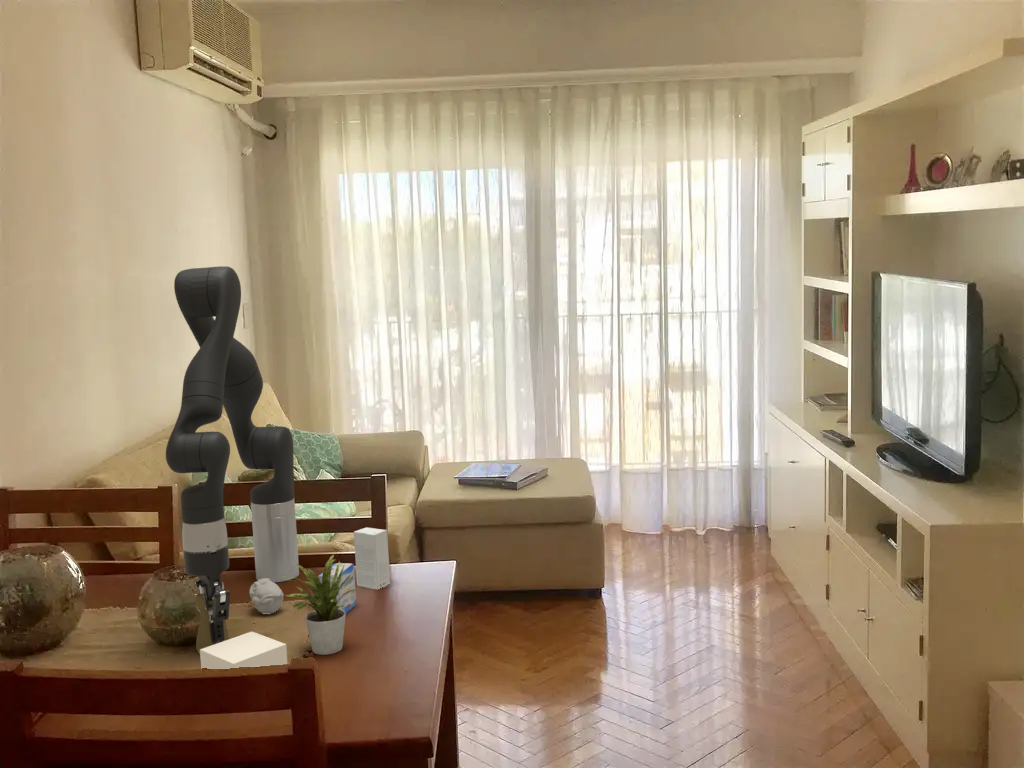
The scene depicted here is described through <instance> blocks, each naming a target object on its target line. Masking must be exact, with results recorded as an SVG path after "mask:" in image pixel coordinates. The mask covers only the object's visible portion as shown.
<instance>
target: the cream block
mask: <svg viewBox="0 0 1024 768" xmlns="http://www.w3.org/2000/svg"><path fill="white" fill-rule="evenodd" d="M199 657H200V668H201V669H202V668H207V669H230V668H239V667H260V666H270V665H283V664H288V652H287V644H286V643H285V642H281V641H278V640H276V639H274V638H271V637H268V636H265V635H263V634H260V633H257V632H255V631H248V632H246V633H243V634H241V635H238V636H235V637H232V638H229V640H226V641H223V642H220V643H217V644H214V645H212V646H209V647H206V648H203V649H200V654H199Z"/></svg>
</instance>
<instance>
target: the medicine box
mask: <svg viewBox="0 0 1024 768" xmlns="http://www.w3.org/2000/svg"><path fill="white" fill-rule="evenodd" d="M338 563H339V562H338ZM338 563H333V565H332V570H331V576H330V587H331V586H332V582H333V578H334V575H335V571H336V568H337V566H338ZM344 564H345V565H344ZM343 566H344V570H343V574H342V577H341V579H342V578H343V579H342V580H341V582H340V584H339V587H340V585H341V584H342V583H343V582H344V581H345V580H346V578H347V577H348V576H349V575H350V574H351V575H350V576H349V577H348V579H347V580H346V581H345V583H344V584H343V585H342V587H341V588H340V590H339V592H338V594H337V597H336V599H337V602H338V600H339V599H340V598H341V596H342V595H344V594H345V593H346V592H348V591H350V590H354V589H356V578H355V564H354V563H350V562H349V563H347V562H346V563H343V562H340V565H339V572H338V575H337V578H336V581H337V580H338V577H339V574H340V572H341V570H342V568H343ZM322 574H323V572H322V573H320V574H319V575H317V576H318V578H319V580H320V581H321V583H322ZM339 587H338V588H339ZM356 591H357V590H356ZM356 591H351V592H349V593H347V594H345V595H344V596H343V597H342V598H341V599H340V600H339V602H338V604H337V605H336V606H342V605H344V606H343V609H342V607H339V608H338V609H342V610H344V611H345V612H346V615H347V614H348V613H349V612H350V611H351V610H353V608H354V607H355V606H356V605H357V595H356V594H357V592H356Z"/></svg>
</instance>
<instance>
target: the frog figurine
mask: <svg viewBox="0 0 1024 768" xmlns="http://www.w3.org/2000/svg"><path fill="white" fill-rule="evenodd" d="M284 595H285V594H284V592H283V591H282V589H281V588H280V586H279V585H278V584H276V582H272V581H270V579H269V578H263V579H260V580H256V581H254V582H253V583H252V584H251V586H250V588H249V596H250V599H251V602H252V603H253V604H254V607H255V608H254V609H256V610H257V611H258V612H259V613H260V612H261V613H273V612H275V613H277V612H278V611H279V609H280V608H281V605H282V602H283V601H284V597H285V596H284ZM276 611H277V612H276ZM261 613H260V614H261ZM273 614H274V613H273Z"/></svg>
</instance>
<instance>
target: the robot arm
mask: <svg viewBox="0 0 1024 768" xmlns="http://www.w3.org/2000/svg"><path fill="white" fill-rule="evenodd" d="M173 285H174V287H173V288H174V295H175V299H176V302H177V305H178V307H179V311H180V312H181V314H182V316H183V318H184V320H185V321H186V324H187V325H188V327H189V329H190V332H191V333H192V335H193V337H194V338H195V341H196V342H197V345H198V347H199V349H198V350H197V351H196V353H195V355H194V356H193V357H192V359H191V360H190V362H189V364H188V365H187V368H186V370H185V373H184V377H183V383H182V391H181V394H182V395H181V404H180V410H179V413H178V416H177V419H176V421H175V424H174V427H173V428H172V431H171V434H170V436H169V438H168V441H167V444H166V447H165V460H166V463H167V466H168V467H169V468H170V470H171V471H173V472H174V473H177V474H193V473H196V474H197V473H199V474H200V473H207V478H206V481H204V482H200V483H197V484H193V485H190V486H187V487H186V488H184V489H183V490H182V491H181V493H180V507H181V517H182V519H181V520H182V527H181V528H182V529H181V531H182V532H181V537H182V549H183V551H182V553H183V563H184V565H183V566H184V572H185V573H186V574H187V575H188V576H190V577H191V576H198V577H199V579H200V580H199V581H198V582H195V584H196V588H197V587H199V590H200V594H201V595H202V597H203V600H204V603H205V604H204V609H205V610H207V612H208V618H209V622H210V623H209V626H210V634H211V641H212V643H214V644H215V643H216V642H217V641H218V640H220V641H221V642H222V641H223V640H224V629H223V620H225V621H227V620H229V613H230V599H231V592H230V590H229V589H225V586H224V581H223V580H222V576H221V574H222V573H223V572H225V571H227V570H228V569H229V568H230V556H229V553H230V552H229V541H228V530H227V529H228V528H227V524H226V519H225V509H224V488H225V487H224V486H225V485H224V484H225V479H226V474H227V473H226V472H227V470H228V469H227V468H228V464H229V460H230V455H231V445H230V441H229V440H228V438H227V436H226V435H225V434H224V433H222V432H220V431H198V432H197V430H198V429H199V428H200V427H203V426H206V425H209V424H212V423H215V422H218V421H219V420H220V419H221V417H222V414H223V408H224V411H225V413H226V415H227V418H228V422H229V424H230V428H231V432H232V435H233V439H234V442H235V445H236V448H237V449H236V450H237V453H238V455H239V458H240V461H241V462H242V465H243V466H244V467H245V468H246V469H249V470H274V471H273V477H271V479H269V480H268V481H265V482H262V483H260V484H257V485H255V486H253V487H252V488H251V489H250V492H249V495H250V497H249V498H250V499H249V500H250V508H251V509H250V510H251V511H250V512H251V513H250V514H251V525H252V537H253V539H252V540H253V549H254V550H253V551H254V567H255V579H256V581H258V580H260V579H263V578H269V579H270V581H272V582H273V583H281V582H287V581H288V580H293V579H294V578H289V577H295V578H297V577H299V575H300V568H299V567H298V566H297V565H300V564H299V551H298V548H299V547H298V535H297V534H298V533H297V532H298V531H297V518H296V506H295V505H296V504H295V503H296V502H295V474H294V473H295V471H294V469H295V468H294V465H295V464H294V437H293V434H292V432H291V429H289V428H288V427H286V426H256V425H255V424H254V423H253V420H252V416H253V415H252V414H253V411H254V410H255V407H256V406H257V404H258V401H259V400H260V397H261V395H262V391H263V387H264V381H263V377H262V374H261V371H260V368H259V366H258V363H257V360H256V358H255V356H254V354H253V353H252V352H251V350H250V349H249V348H247V347H246V346H245V345H244V344H243V343H242V342H240V341H239V340H238V339H236V338H235V337H234V336H235V332H236V329H237V328H236V327H237V322H238V319H239V313H240V310H241V309H240V308H241V303H242V287H241V281H240V278H239V276H238V273H237V272H236V270H235V269H234V268H232V267H230V266H221V265H220V266H211V267H209V266H208V267H194V268H193V267H192V268H187V269H183V270H180V271H179V272H178V273H177V274H176V275H175V277H174V283H173ZM214 317H215V318H214ZM292 563H294V564H292ZM295 564H297V565H295ZM283 576H288V577H283ZM224 589H225V590H224ZM208 600H209V601H213V605H209V603H208ZM212 610H213V612H212ZM218 612H219V614H218Z"/></svg>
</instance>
